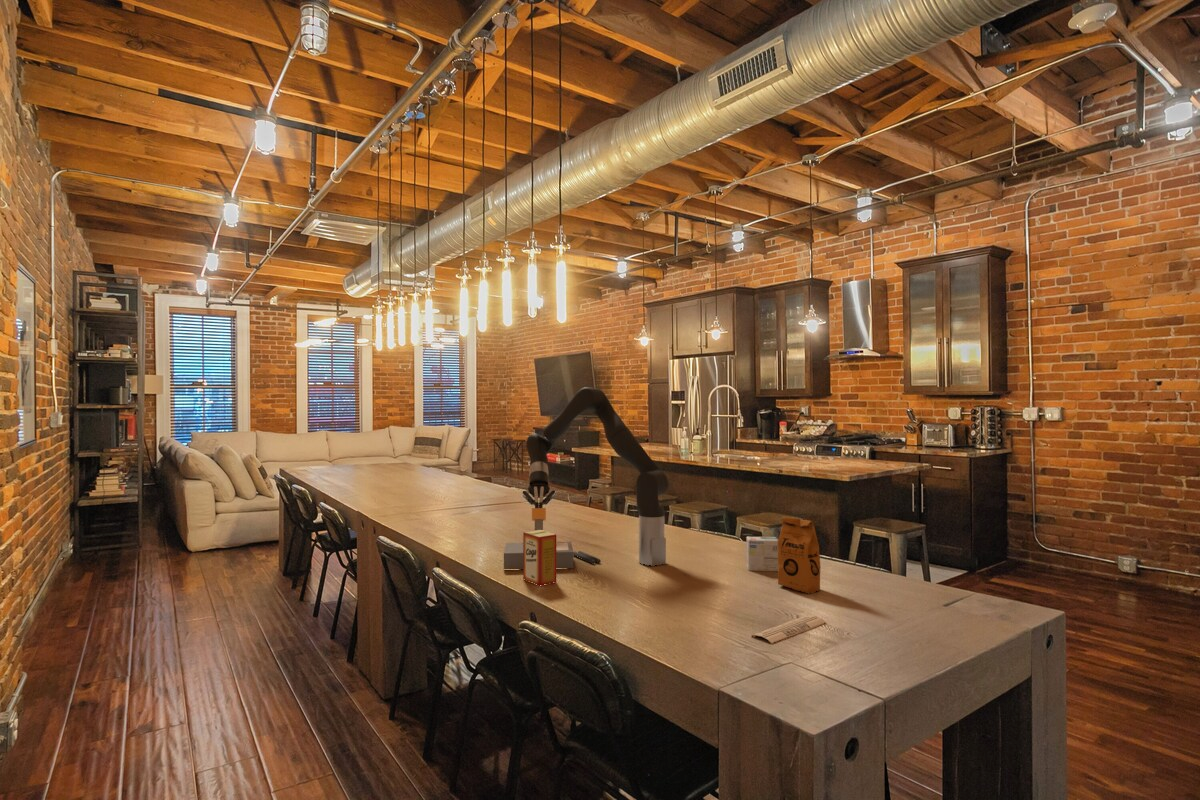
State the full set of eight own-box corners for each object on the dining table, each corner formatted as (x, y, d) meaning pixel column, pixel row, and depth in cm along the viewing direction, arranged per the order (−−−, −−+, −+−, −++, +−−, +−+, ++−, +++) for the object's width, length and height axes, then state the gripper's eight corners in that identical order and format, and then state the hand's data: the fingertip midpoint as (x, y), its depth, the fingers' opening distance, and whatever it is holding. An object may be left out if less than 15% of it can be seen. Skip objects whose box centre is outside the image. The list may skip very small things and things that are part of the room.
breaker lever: (531, 544, 231) (532, 510, 237) (545, 544, 232) (545, 509, 237) (531, 543, 229) (531, 508, 234) (545, 542, 229) (545, 508, 235)
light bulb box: (776, 566, 227) (776, 536, 227) (779, 571, 220) (779, 540, 220) (745, 565, 228) (745, 535, 228) (748, 571, 221) (748, 539, 221)
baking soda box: (556, 582, 207) (556, 533, 207) (539, 586, 202) (539, 535, 202) (539, 576, 214) (540, 528, 214) (523, 579, 210) (523, 531, 210)
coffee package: (806, 596, 193) (806, 523, 193) (773, 586, 203) (773, 517, 203) (826, 590, 199) (826, 519, 199) (793, 581, 209) (793, 513, 209)
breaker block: (506, 559, 237) (506, 534, 237) (571, 557, 239) (571, 533, 239) (503, 570, 221) (503, 544, 221) (573, 569, 223) (573, 543, 223)
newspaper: (806, 619, 175) (806, 613, 175) (829, 627, 169) (829, 620, 169) (751, 639, 160) (751, 632, 160) (775, 648, 154) (775, 641, 154)
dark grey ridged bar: (601, 563, 231) (601, 559, 231) (592, 564, 229) (592, 560, 229) (580, 554, 244) (580, 550, 244) (571, 555, 242) (571, 551, 242)
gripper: (521, 470, 249) (520, 506, 237) (555, 469, 250) (556, 506, 238) (522, 481, 254) (521, 518, 242) (555, 481, 255) (556, 518, 243)
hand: (538, 512), depth 240 cm, fingers closed
